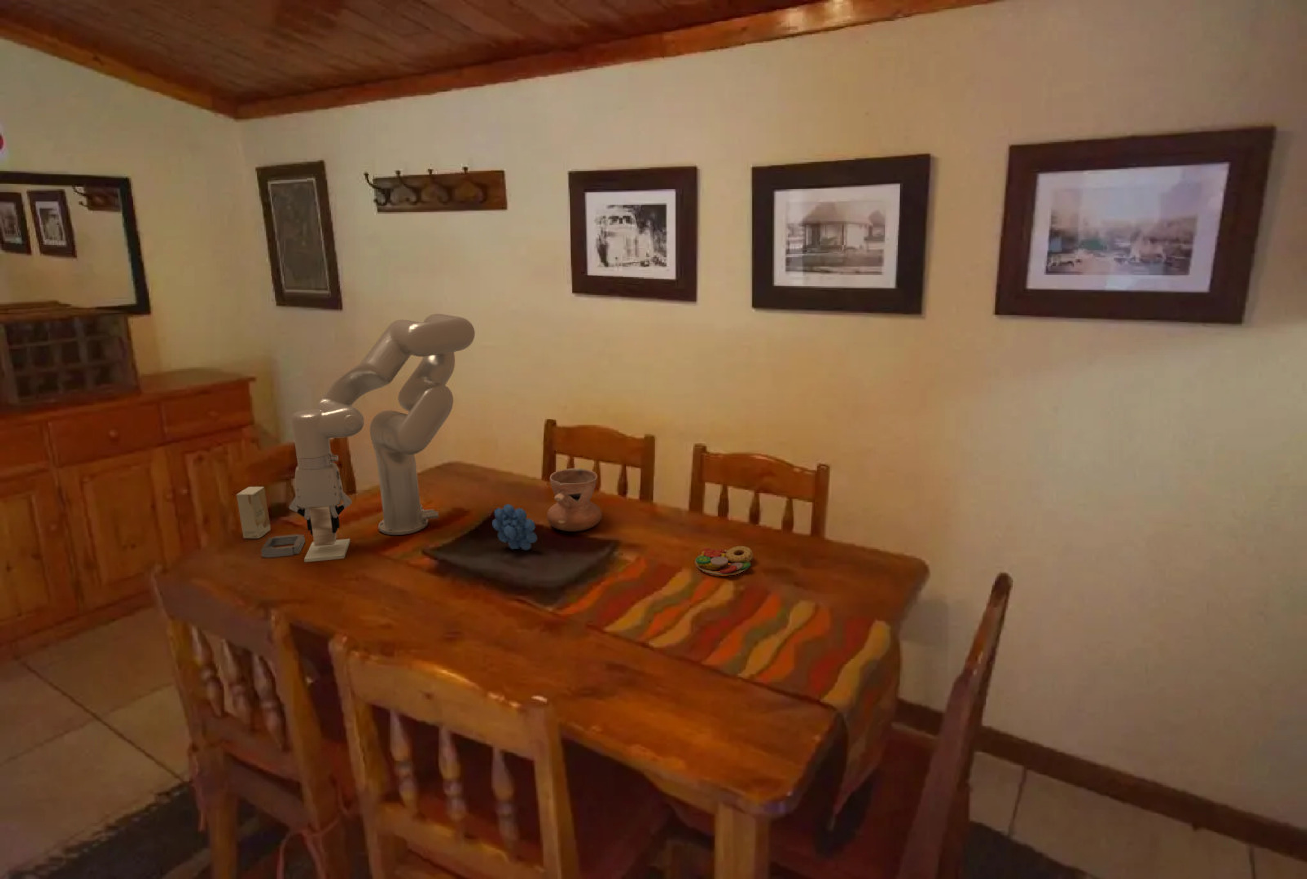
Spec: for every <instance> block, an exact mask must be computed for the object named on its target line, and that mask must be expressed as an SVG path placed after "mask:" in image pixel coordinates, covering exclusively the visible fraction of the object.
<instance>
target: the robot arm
mask: <svg viewBox="0 0 1307 879" xmlns="http://www.w3.org/2000/svg"><path fill="white" fill-rule="evenodd" d="M475 334H476V331H475V328H474V326H473V324H472V322H471V321H469V320H468V319H467V318H464V317H461V316H455V315H449V314H443V313H434V314H433V313H432V314H430V315H429V316H427V317H426V318H425V319H424V320H423V321H421V322H420V321H415V320H414V321H413V320H410V319H409V320H407V319H398V320H394V321H393V322H391V323H390V324H389V325H388V326H387V327H386V328H385V330H384V331H383V333H382V334H381V335H380V337H379V338H378V339H377V341H376V342H375V343H374V345H373V346H372V348H371V349H370V350H369V351H368V353H367V354H366V355H365V357H364V358H362V360H361V362H359V364H356V365H355V366H354V367H353V368H351V369H350V370H348V371H347V372H346V373H345V374H343V375H341V376H340V377H339V378H338V379H337V380H335V381H334V382H332V384H331V385H330V387H329V388H328V389H327V391H326V392H325V393H324V394H323V395H322V397H321V398H320V399H319V401H318V403H317V404H316V406H315V407H314V408H311V409H310V408H309V409H303V410H299V411H298V410H297V411H296V412H295V413H293V414H292V416H291V425H292V433H293V441H294V447H295V454H296V455H295V456H296V459H297V466H295V467H296V468H295V472H294V474H295V475H294V487H295V488H294V490H295V492H294V494H295V496H294V498H293V500H292V501H291V502H290V504H289V506H288V509H289V510H291V511H293V512H295V513H297V514H299V515H300V516H301V517H303V518H304V519H305V521H306V525H307V530H308V531H309V532H310V535H311V536H313V532H312V524H311V517H310V510H309V508H312V507H325V506H329V507H330V511H331V513H332V518H331V522H332V530H333V533H336V534H337V531H338V530H339V529H340V528H341V527H340V518H339V515H340V514H341V513H342V512H343V511H344V510H345V509H346V508H348V507H349V506H350V505H351V504H352V502H353V501H352V499H351V498H350V497H349V496H348V495H347V494H346V493H345V492H344V490H343V485H342V480H341V476H340V472H339V469H338V466H337V463H335V462H338V461H339V455H337V454H333V453H332V451H331V445H330V444H331V443H330V439H338V438H339V439H341V438H349V437H353V436H356V435H357V434H358V433H360V432H361V431H362V429H363V427H364V425H365V418H364V415H363V414H362V412H360V410H359V409H357V408H355V407H353V405H354V403H355V402H356V401H357V400H358V399H360V398H362V397H363V396H364V395H365V394H368V393H369V392H371V391H375V390H378V389H381V388H383V387H385V386H388V385H390V384H391V383H392V381H393V380H395V378H396V376H397V375H398V374H399V372H400V371H401V369H402V368H403V367H404V365H405V364H406V363H407V361H408V360H409V358H410V357H411V356H415V357H418V358H419V357H422V359H421V361H420V362H419V364H418V365H417V367H416V368H415V369H414V370H413V372H412V373H411V375H410V376H409V377H408V379H407V380H406V382H405V383H404V384H403V386H401V389H400V390H399V392H398V398H397V401H398V404H399V405H400V406H401V408H402V409H403V410H404V411H407V412H408V413H403V412H401V411H398V410H397V411H396V410H391V409H390V410H387V409H386V410H383V411H380V412H378V413H377V414H376V415H375V416H374V417H373V418H372V420H371V422H370V425H369V435H370V440H371V443H372V446H373V450H374V454H375V459H376V466H377V473H378V481H379V482H378V483H379V490H380V499H381V506H382V513H383V519H382V520H380V522H379V523H378V527H377V528H378V530H379V532H381V533H382V534H385V535H391V536H398V535H399V536H401V535H402V536H403V535H410V534H412V533H417V532H418V531H421V530H422V529H424V528H426V527H427V526H428V523H429V520H430V519H432V520H434V519H435V520H436V519H439V511H438V510H436V511H435V509H434V508H433V509H432V508H431V509H425V508H423V504H421V503H420V502H421V501H420V492H419V482H418V473H417V472H418V471H417V463H416V457H415V455H417V454H419V453H421V452H422V451H424V450H425V449H426V448H427V447H428V445H429V444H430V443H431V441H432V440H433V439H434V438H435V437H436V435H437V433H438V432H439V430H440V429H441V428H442V426H443V424H445V422H446V420H447V419H448V417H449V416H450V415H451V412H452V409H453V406H454V396H453V392H452V391H451V389H450V388H449V387H448V386H447V384H448V382H449V380H450V378H451V377H452V375H453V373H454V371H455V367H456V366H455V365H456V358H455V356H456V355H455V352H459V351H463V350H465V349H468V348H469V347H470V346H471V345H472V343H473V342H474V340H475ZM342 501H343V502H342ZM341 502H342V503H341Z"/></svg>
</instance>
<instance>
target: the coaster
mask: <svg viewBox="0 0 1307 879" xmlns="http://www.w3.org/2000/svg"><path fill="white" fill-rule="evenodd" d="M350 543H351V539H350V538H342V539H336V541H335V543H334V545H326V546H314V541H312V542H311V544H310V545H309V549H308V550H307V552H306V554H305V557H304V558H303V559H304V560H303V561H304V563H310V562H321V561H328V560H329V561H331V560H340V559H345V557H346V554H347V553H348V552H347V551H348V549H349V547H350Z"/></svg>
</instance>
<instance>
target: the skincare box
mask: <svg viewBox="0 0 1307 879" xmlns="http://www.w3.org/2000/svg"><path fill="white" fill-rule="evenodd" d="M266 497H267V496H266V491H265V486H248V487H246V488H244V489H243V490H241V491H240V492H238V493H236V500H237V507H238V511H239V517H240V518H239V519H240V524H241V530H242V536H243V537H242V538H243V539H260V538H261V537H263V536H264V535H266V534H267V533H269V532H270V531H271V530H272V529H271V522H270V521H271V520H270V517H269V510H268V504H267V498H266Z"/></svg>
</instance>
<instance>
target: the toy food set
mask: <svg viewBox="0 0 1307 879" xmlns="http://www.w3.org/2000/svg"><path fill="white" fill-rule="evenodd" d="M753 556H754V554H753V551H752V549H751V548H750V547H747V546H744V545H743V546H742V545H741V546H739V545H738V546H733V547H730V548H729V549H728V550H726V549H717V550H716V549H711V548H709V547H708V548H707V547H706V548H704V549H703V550H702V551H701V552H700V554H699V555H698V556H697V557H696V558H695V561H694V563H695V566H696V567H697V568H698V569H699V570H700V571H701V570H702V572H703V571H704V572H707V573H709V574H713V575H734V574H738V573H741V572H743V571H744V572H745V571H746V570H748V569H749V568H750V567H751V566H752V565H751V560H753ZM728 563H731V564H730V565H728ZM714 571H720V572H714ZM704 572H703V573H704ZM744 572H743V573H744ZM709 574H708V575H709ZM741 574H742V573H741ZM713 575H712V576H713ZM738 575H739V574H738Z"/></svg>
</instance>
